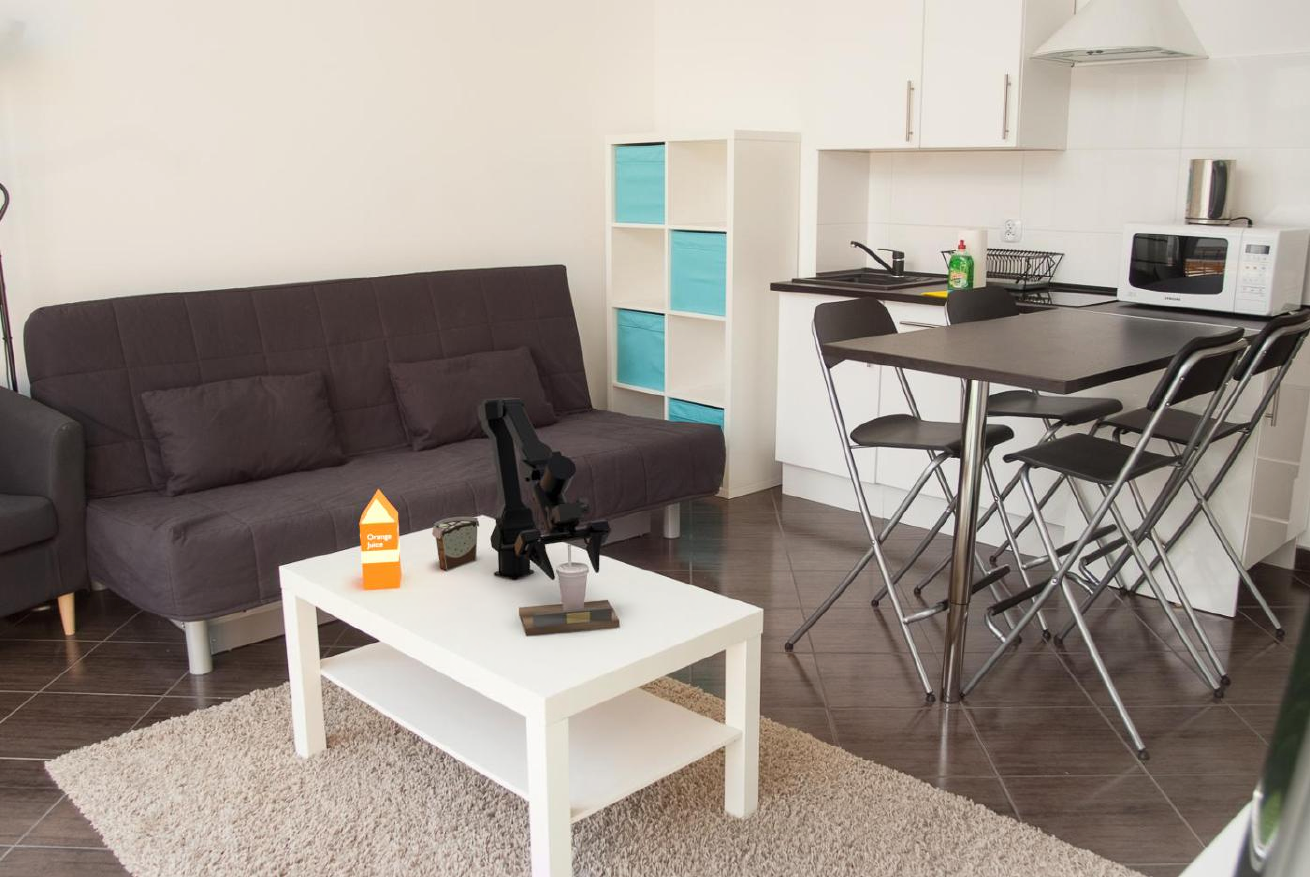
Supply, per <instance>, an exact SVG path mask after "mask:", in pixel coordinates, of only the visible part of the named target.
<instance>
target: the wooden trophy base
mask: <svg viewBox="0 0 1310 877" xmlns="http://www.w3.org/2000/svg"><path fill="white" fill-rule="evenodd" d="M518 615H519V619H520V621H521V625H522V627H523V630H524V633H525V636H526V637H529V636H542V635H543V636H544V635H551V634H552V635H553V634H562V633H573V632H583V631H595V630H605V629H606V630H607V629H618V627H619V628H620V618H619V617H618V615H617V613H616V610H614V608H613V606H612V605H611V603H610V601H609V599H603V600H593V601H592V600H590V601H584V609H578V610H567V611H563V605H562V603H556V604H547V605H545V604H544V605H533V606H531V605H530V606H522V607H518Z"/></svg>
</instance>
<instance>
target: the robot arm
mask: <svg viewBox="0 0 1310 877" xmlns="http://www.w3.org/2000/svg"><path fill="white" fill-rule="evenodd" d="M477 417H478V420H479V421H480V423H481V427H482V430H483V432H484V433H485V434H486V435H487V437H488V438H489V439H490V440H491V445H492V452H493V453H492V454H493V460H494V468H495V474H496V479H497V480H496V482H497V487H498V494H499V501H500V507H499V508H498V511H497V514H496V516H495V525H494V529H493V531H492V534H491V535H490V545H491V548H492V549H493V550H495V551H496V552H497V558H498V560H497V563H498V570H497V571H495V572H493V576H496V577H501V578H506V579H510V580H514V581H515V580H519V579H521V578H524V577H526V576H528V575H531V574H533V573H534V572H535V570H534V569H531V562H532V563H533V564H535V566H537V567H538V568H539V569H540V570H541V571H542V572H543V573H545V575H547V577H548V578H549V579H550V581H551V580H552V581H555V579H556V575H555V571H554V568H553V566H552V563H551V561H550V558H549V556H548V552H547V548H546V546H547V545H551V544H552V545H553V544H558V543H564V542H572V541H573V542H574V541H578V540H584V543H585V544H586V547H585V550H586V553H587V556H588V558H589V561H590V563H591V566H592V568H593V570H594V572H595V574H598V573H599V572H600V560H601V559H600V557H601V556H600V555H601V554H600V552H601V551H600V550H601V546H602V545H603V544H605V543H606V541H607V540H608V537H609V535H610V534H611V532H612V530H613V529H612V525H611V524H610V522H609V521H608V520H606V519H605V518H604V519H598V520H590V521H588V523H587V525H586V527H585V528H581V529H576V527H579V524H580V521H579V520H581V519H584V516H586V515H589V514H590V513H591V506H590V503H589V500H588V498H587V497H581V498H578V499H576V500H575V502H570V501H568V502H567V500H566V498H565V495H564V493H565V492H566V491H567V490H568V488H569V487H570V484H571V482H572V480H573V478H574V476H575V473H576V469H577V467H576V464H575V463H574V461H572V459H571V458H569V457H567V456H565V455H562V453H561V451H560V450H558V451H557V450H555V451H553V449H552V448H551V446H549V445H548V444H546V443H544V442H542V440H540V438H539V436H538V434H537V432H536V430H535V427H534V426H533V424H532V422H531V420H530V418H529V416H528V414H527V412H526V410H525V402H524V401H523V399H522V398H518V397H517V398H516V397H515V398H512V397H511V396H508V397H498V398H487V399H486V398H485V399H482V401H481V404H479V405H478V406H477ZM515 446H516V448H517V451H518V453H519V461H518V464H517V456H516V449H515ZM519 475H520V477H521V478H523V480H524V481H525V482H526V483H532V482H537V483H536V484H534V486H533V489H532V495H531V499H532V501H535V503H536V506H537V509H538V512H539V515H540V519H539V523H540V525H542V526H543V527H544V530H545V534H542V532H541V529H539V528H538V526H537V525H536V522H535V521H534V518H533V511H532V509H531V507H528V506H527V505H526V504H525V503H524V501H523V497H522V491H521V484H520V477H519Z"/></svg>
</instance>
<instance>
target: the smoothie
mask: <svg viewBox="0 0 1310 877" xmlns="http://www.w3.org/2000/svg"><path fill="white" fill-rule="evenodd" d="M571 553H572V546H571V544H568V545H567V556H568V557H567V562H565V563H561V564H559V565H556V567H555V570H556V572H555V574H556V575H557V577H558V583H559V584H558V585H559V590H560V595H561V602H562V603H561V604H562V605H563V611H567V610H578V609H584V602H585V599H586V589H587V579H588V574H590V573H589V572H590V570H589V568H590V567H589V565H588V564H586V563H582V562H576V561H575V562H572V554H571Z"/></svg>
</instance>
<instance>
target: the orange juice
mask: <svg viewBox="0 0 1310 877" xmlns="http://www.w3.org/2000/svg"><path fill="white" fill-rule="evenodd" d="M399 528H400V525H399V512H398V511H397V510H396V509H395V507H394V506H393V505H392V504H391V502H390V501H389V500H388V499H387V497H386V496H385V495H384V494H383V493H382V492H381V490H380V488H378V489H377V491H376V493H375V494H374V495H373V497H372V498H371V500H370V502H369V503H368V505H367V506H366V508H365V509H364V510H363V512H362V514H361V517H360V521H359V537H360V550H361V551H360V555H361V565H362V566H361V567H362V569H361V570H362V579H363V580H362V582H363V591H372V590H373V591H376V590H387V589H388V590H389V589H392V590H393V589H400V588H401V580H402V565H401V544H400V542H401V541H400V529H399Z"/></svg>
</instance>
